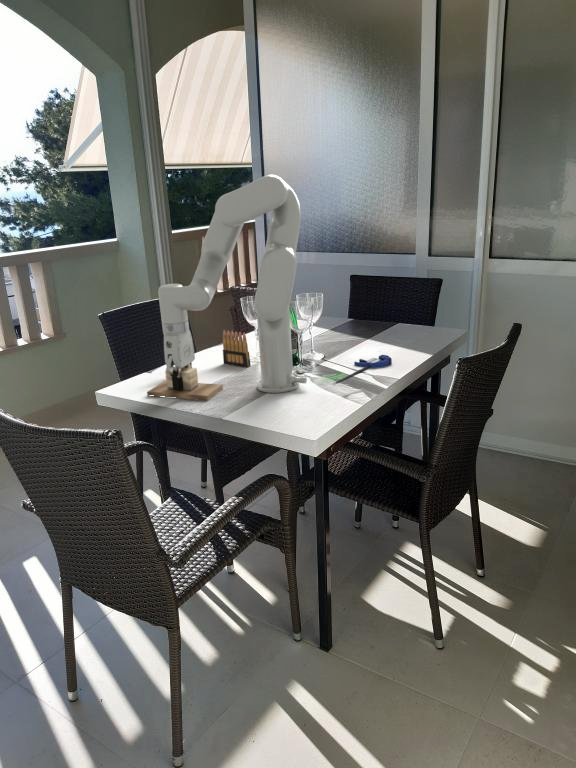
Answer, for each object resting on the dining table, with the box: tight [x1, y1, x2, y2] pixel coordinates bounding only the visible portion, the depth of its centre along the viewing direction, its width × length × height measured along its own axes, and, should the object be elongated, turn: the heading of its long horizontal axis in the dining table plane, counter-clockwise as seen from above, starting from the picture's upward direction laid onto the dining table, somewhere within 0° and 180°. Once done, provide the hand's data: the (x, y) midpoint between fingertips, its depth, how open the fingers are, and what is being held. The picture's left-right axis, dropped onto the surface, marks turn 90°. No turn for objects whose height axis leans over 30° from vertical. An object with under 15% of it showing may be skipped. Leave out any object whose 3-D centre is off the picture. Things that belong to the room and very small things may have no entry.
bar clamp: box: [332, 354, 393, 386], centre depth 190 cm, size 32×2×10 cm
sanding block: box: [165, 367, 199, 391], centre depth 181 cm, size 8×4×6 cm, turn 71°
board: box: [146, 380, 224, 401], centre depth 182 cm, size 20×10×2 cm, turn 71°
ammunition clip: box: [222, 329, 252, 369], centre depth 204 cm, size 11×2×12 cm, turn 54°
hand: (182, 386), depth 181 cm, fingers closed on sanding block, 4 cm apart
